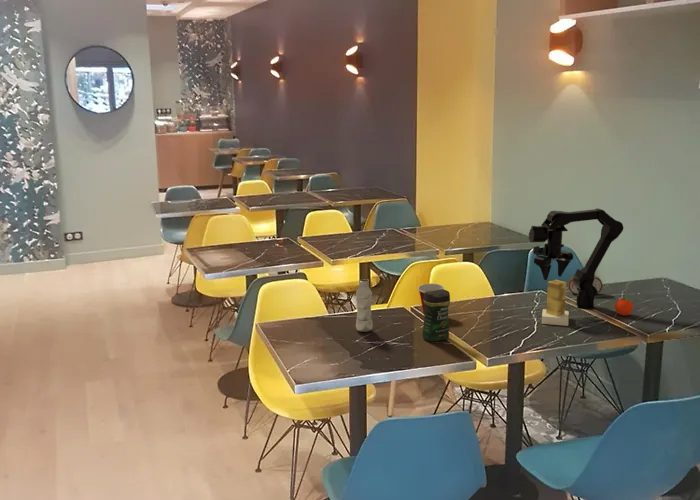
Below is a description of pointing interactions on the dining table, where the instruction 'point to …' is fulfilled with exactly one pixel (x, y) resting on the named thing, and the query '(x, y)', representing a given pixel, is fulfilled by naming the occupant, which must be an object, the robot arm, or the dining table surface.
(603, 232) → the robot arm
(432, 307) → the coffee jar
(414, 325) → the dining table surface
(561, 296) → the pillar block
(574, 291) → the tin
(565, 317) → the plinth
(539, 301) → the dining table surface
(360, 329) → the plastic bottle
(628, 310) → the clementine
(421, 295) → the plastic cup
